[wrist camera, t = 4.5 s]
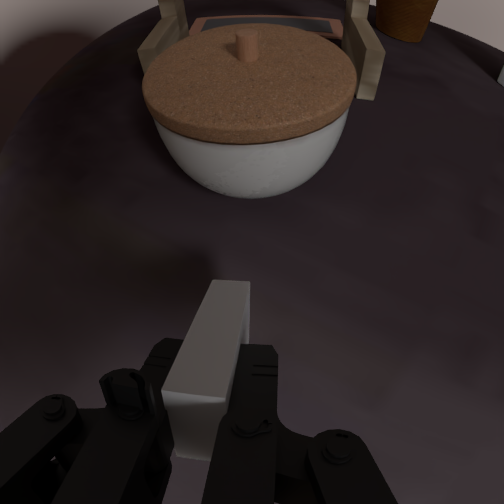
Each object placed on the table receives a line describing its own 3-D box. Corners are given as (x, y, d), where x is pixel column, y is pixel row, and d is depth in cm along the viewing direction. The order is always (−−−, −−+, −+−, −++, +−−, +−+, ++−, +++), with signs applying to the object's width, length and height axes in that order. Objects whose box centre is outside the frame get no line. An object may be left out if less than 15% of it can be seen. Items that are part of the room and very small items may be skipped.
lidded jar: (355, 220, 18) (403, 90, 10) (172, 242, 18) (111, 117, 10) (313, 106, 23) (324, -1, 15) (176, 121, 23) (148, 15, 15)
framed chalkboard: (339, 21, 32) (339, 19, 31) (347, 40, 29) (347, 37, 29) (197, 20, 33) (196, 17, 33) (186, 38, 30) (185, 35, 30)
